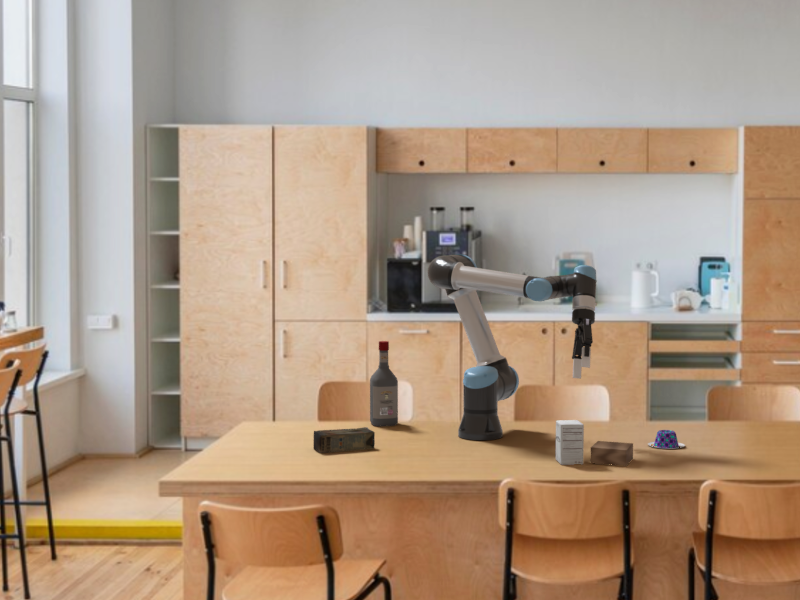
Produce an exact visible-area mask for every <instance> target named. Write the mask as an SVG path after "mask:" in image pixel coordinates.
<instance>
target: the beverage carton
mask: <svg viewBox="0 0 800 600" xmlns="http://www.w3.org/2000/svg"><path fill="white" fill-rule="evenodd" d="M375 433H376V432H375V431H373V430H372V429H370V428H369V427H367V426H366V427H365V426H363V427H358V428H341V429H340V428H339V429H338V428H337V429H324V430H313V449H314V450H315V451H316V452H318V453H319V454H325V453H337V452H338V453H339V452H350V451H362V450H363V451H364V450H365V451H366V450H374V449H375V446H376V445H375V444H376V443H375V441H376V440H375Z"/></svg>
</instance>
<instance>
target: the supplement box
mask: <svg viewBox="0 0 800 600" xmlns="http://www.w3.org/2000/svg"><path fill="white" fill-rule="evenodd" d="M584 428H585V426H584V423H582V422H581V421H580V420H578V419H566V420H565V419H561V420H560V419H559V420H555V461H557V462H558V463H559V464H560V465H561V466H570V465H571V466H574V464H581V465H584V447H585V446H584V445H585V443H584V442H585V441H584V440H585V439H584V438H585V435H584V434H585V433H584V432H585V431H584V430H585V429H584Z"/></svg>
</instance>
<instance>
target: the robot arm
mask: <svg viewBox="0 0 800 600" xmlns="http://www.w3.org/2000/svg"><path fill="white" fill-rule="evenodd" d="M427 277H428V280H429V282H430V283H431V285H432V286H434V287H436V288H438V289H442V290H444V291H445V293H446V295H447V297H448V298H450V299H451V300H453V301H454V305H455V307H456V310H457V313H458V315H459V318H460V320H461V324H462V326H463V329H464V331H465V334H466V336H467V339H468V342H469V344H470V348H471V351H472V353H473V355H474V357H475V361H476V365H475V366H473V367H470V368H467V369H466V370H465V371H464V373H463V380H462V384H463V387H462V389H463V393H462V395H463V397H462V398H463V400H462V401H463V403H462V404H463V406H462V407H463V411H462V412H463V414H462V417H461V421H460V423H459V425H458V431H457V433H458V437H459V438H461V439H464V440H470V441H471V440H472V441H473V440H474V441H491V440H499V439H501V438H503V433H504V432H503V427H502V424H501V421H500V419H499V415H498V414H499V413H498V402H500V401H505V400H506V399H509V398H511V397H512V396H513V395H515V393H516V392H517V390H518V388H519V385H520V384H519V383H520V377H519V374H518V372H517V371H516V369H515V368H514V367H512V366H510V365H509V363H508V360H507V357H506V356H504V355H501V353H500V351H499V348H498V345H497V343H496V341H495V338H494V335H493V332H492V329H491V327H490V324H489V321H488V319H487V317H486V316H487V315H486V313H485V311H484V308H483V305H482V303H481V300H480V297H479V295H478V293H477V291H480V292H487V293H494V294H499V295H506V296H512V297H518V298H525V299H530V300H531V301H534V302H545V301H547V300H554V299H560V298H568V297H569V298H570V297H572V308H571V309H572V311H571V322H572V323H573V324H575V325H577V327H576V328H575V331H574V341H573V348H572V355H571V359H572V360H573V362H572V379H582V368H589V369H590V368H591V354H592V353H591V351H592V349H591V347H592V344H593V343H594V341H593V331H592V330H593V329H592V325H593V324H595V322H596V320H595V319H596V312H595V311H596V306H597V305H598V303H597V302H596V297H597V296H596V292H597V281H598V280H597V270H596V269H595V267H593V266H591V265H587V264H586V265H585V264H581V265H578V266H576V267H574V269H573V273H570V274H563V275H549V276H545V277H541V276H534V275H533V276H532V275H526V274H520V273H513V272H506V271H500V270H494V269H488V268H481V267H478V266H477V264H476V262H475V261H474V260H473V258H471V257H470V256H468V255H466V254H461V253H454V254H449V255H439V256H437V257H435V258H434V259H432V261H431V262H429V265H428V268H427Z"/></svg>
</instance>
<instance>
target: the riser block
mask: <svg viewBox="0 0 800 600" xmlns="http://www.w3.org/2000/svg"><path fill="white" fill-rule="evenodd" d="M632 459H633V460H634V443H632V442H622V441H621V442H620V441H607V440H606V441H605V440H603V441H602V440H597V441H596V443H594V444H593V445H591V447H590V463H595V464H594V465H603V464H610V465H609V466H616V465H623V466H622V467H628V465H629V464H630V463H631V462H632V461H633V460H632ZM631 460H632V461H631ZM630 461H631V462H630ZM629 462H630V463H629ZM628 463H629V464H628ZM611 464H612V465H611ZM627 464H628V465H627Z"/></svg>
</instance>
